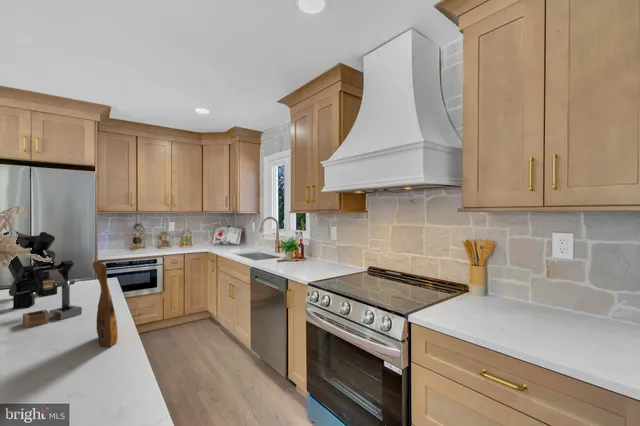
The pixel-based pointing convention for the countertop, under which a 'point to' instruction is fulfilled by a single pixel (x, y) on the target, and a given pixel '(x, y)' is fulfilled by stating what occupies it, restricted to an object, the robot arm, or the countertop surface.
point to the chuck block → (65, 312)
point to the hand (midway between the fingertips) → (55, 283)
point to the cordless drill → (48, 282)
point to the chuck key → (65, 293)
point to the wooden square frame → (35, 318)
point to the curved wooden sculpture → (105, 310)
